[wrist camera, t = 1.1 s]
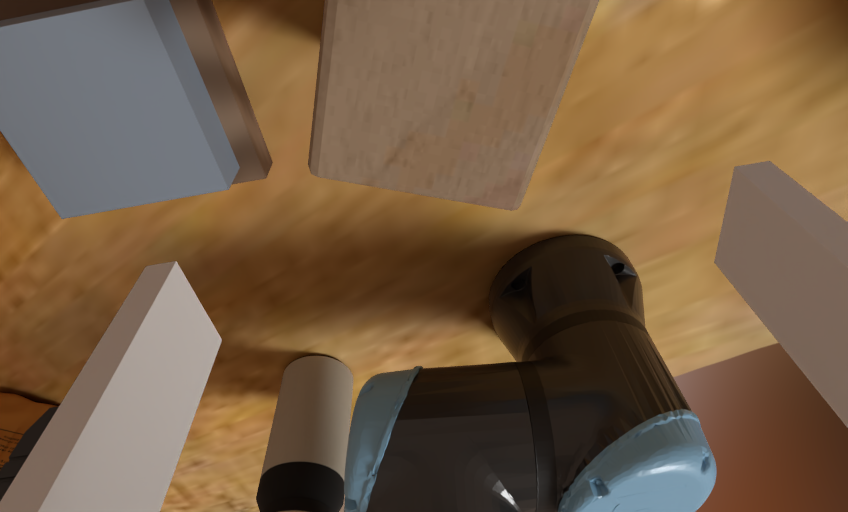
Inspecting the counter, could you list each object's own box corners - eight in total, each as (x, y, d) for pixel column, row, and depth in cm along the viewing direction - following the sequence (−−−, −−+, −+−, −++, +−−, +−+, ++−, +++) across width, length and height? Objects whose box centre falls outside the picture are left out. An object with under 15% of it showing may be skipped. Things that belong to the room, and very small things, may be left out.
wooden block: (511, -68, 35) (610, -15, 19) (470, 79, 41) (520, 216, 25) (362, -108, 33) (332, -86, 17) (342, 51, 39) (305, 179, 23)
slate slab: (239, 167, 41) (228, 189, 38) (84, 195, 42) (61, 218, 39) (163, -13, 33) (142, -2, 31) (-26, 25, 34) (-64, 39, 31)
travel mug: (300, 344, 57) (268, 505, 43) (365, 367, 60) (356, 526, 45) (272, 386, 61) (235, 547, 46) (335, 406, 64) (317, 564, 49)
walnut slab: (274, 158, 45) (266, 178, 42) (97, 190, 46) (77, 211, 43) (194, -55, 35) (177, -48, 32) (-28, -10, 36) (-63, 1, 33)
